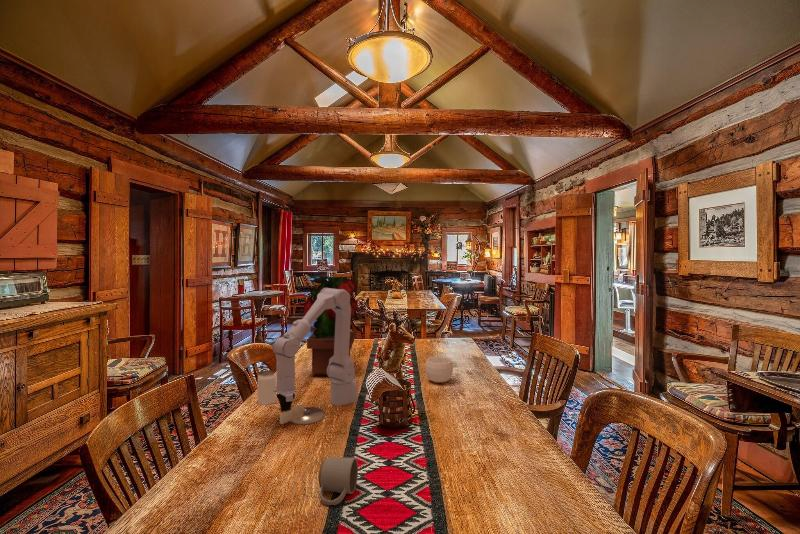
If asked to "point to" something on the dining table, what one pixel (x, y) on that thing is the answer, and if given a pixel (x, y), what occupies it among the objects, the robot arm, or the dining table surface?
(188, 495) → the dining table surface
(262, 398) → the can
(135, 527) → the dining table surface
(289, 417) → the dial
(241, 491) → the dining table surface
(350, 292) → the potted plant
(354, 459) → the ceramic mug
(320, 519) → the dining table surface
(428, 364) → the cup
